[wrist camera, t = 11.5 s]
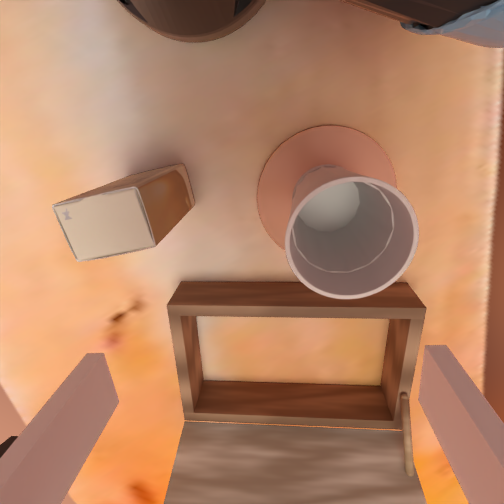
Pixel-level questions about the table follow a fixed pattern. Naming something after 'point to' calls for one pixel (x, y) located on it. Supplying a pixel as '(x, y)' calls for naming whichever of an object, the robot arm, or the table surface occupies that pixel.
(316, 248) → the cup
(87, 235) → the skincare box
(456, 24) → the robot arm
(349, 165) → the saucer
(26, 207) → the table surface
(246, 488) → the hinged wooden box
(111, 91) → the table surface
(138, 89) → the table surface
